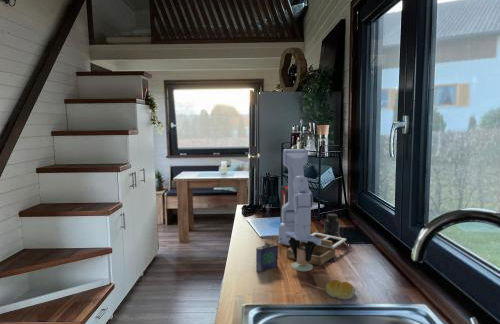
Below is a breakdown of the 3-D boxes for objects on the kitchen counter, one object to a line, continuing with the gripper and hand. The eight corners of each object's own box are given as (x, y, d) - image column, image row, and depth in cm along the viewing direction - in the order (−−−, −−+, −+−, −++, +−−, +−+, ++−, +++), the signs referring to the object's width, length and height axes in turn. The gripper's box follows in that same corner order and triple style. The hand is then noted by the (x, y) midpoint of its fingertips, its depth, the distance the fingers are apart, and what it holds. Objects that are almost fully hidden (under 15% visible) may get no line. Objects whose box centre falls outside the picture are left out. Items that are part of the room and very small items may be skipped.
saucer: (287, 268, 135) (287, 266, 135) (298, 261, 142) (298, 259, 141) (306, 274, 130) (306, 271, 130) (316, 266, 137) (316, 264, 137)
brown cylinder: (294, 262, 135) (294, 248, 135) (300, 259, 139) (300, 245, 138) (305, 265, 133) (305, 250, 132) (310, 262, 136) (310, 247, 136)
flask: (258, 273, 131) (258, 244, 130) (254, 270, 134) (254, 242, 133) (279, 267, 136) (279, 240, 135) (274, 265, 139) (274, 238, 137)
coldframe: (286, 257, 146) (286, 249, 146) (302, 248, 156) (302, 240, 156) (320, 266, 137) (320, 257, 136) (335, 256, 147) (335, 248, 147)
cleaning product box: (303, 229, 183) (304, 191, 181) (286, 230, 182) (286, 191, 180) (296, 220, 199) (296, 185, 197) (280, 221, 198) (280, 185, 196)
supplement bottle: (339, 242, 163) (340, 216, 162) (324, 241, 165) (324, 216, 163) (338, 237, 170) (339, 213, 168) (324, 237, 171) (324, 212, 170)
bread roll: (330, 285, 122) (330, 274, 121) (357, 292, 117) (357, 280, 116) (321, 295, 115) (321, 283, 114) (349, 303, 110) (349, 290, 110)
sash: (300, 241, 154) (300, 235, 154) (314, 233, 164) (315, 228, 164) (333, 248, 145) (333, 242, 145) (346, 240, 155) (346, 234, 155)
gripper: (280, 223, 135) (280, 258, 137) (315, 230, 126) (314, 267, 128) (290, 219, 141) (290, 252, 142) (324, 225, 132) (323, 261, 134)
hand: (302, 259), depth 136 cm, fingers closed on brown cylinder, 4 cm apart
